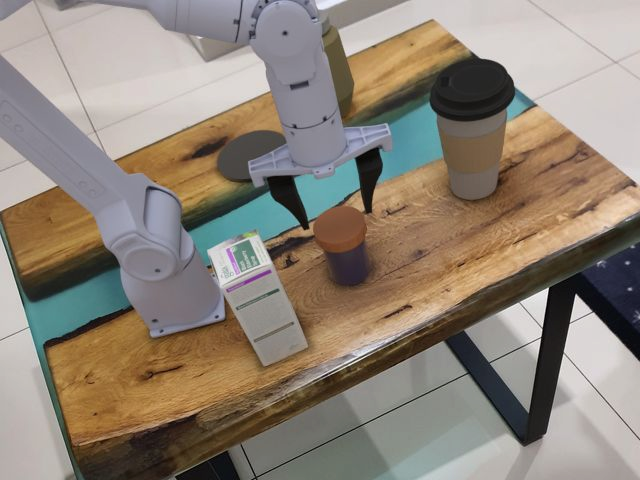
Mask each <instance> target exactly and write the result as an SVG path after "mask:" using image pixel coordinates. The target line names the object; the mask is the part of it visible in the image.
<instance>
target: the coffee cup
mask: <svg viewBox="0 0 640 480" xmlns="http://www.w3.org/2000/svg"><path fill="white" fill-rule="evenodd" d="M515 96H516V86H515V82H514V79H513V77H512V76H511V75H510V73H508V70H507V68H506V67H505V66H504V65H503V64H501V63H500V62H498V61H495V60H493V59H488V58H468V59H464V60H460V61H457V62H454V63H451V64H450V65H448V66H447V67H445V68H444V69H443V70H441V71H440V72H439V74H438V75H437V76H436V79H435V81H434V83H433V84H432V86H431V88H430V92H429V98H428V99H429V101H428V103H429V106H430V108H431V110H432V111H433V112H434V113H435V114H436V126H437V131H438V136H439V141H440V146H441V150H442V151H441V152H442V155H443V156H442V157H443V160H444V163H445V165H446V170H447V174H448V181H449V184H450V189H451V191H452V193H453V195H455V196H456V197H457V198H459V199H461V200H465V201H467V200H469V201H475V200H481V199H485V198H486V197H489V196H490V195H492V194H493V193H494V192H495V190H496V188H497V186H498V180H499V172H500V165H501V159H502V156H503V152H504V143H505V137H506V129H507V121H508V107H509V106H510V105H511V104H512V102H513V101H514V99H515Z"/></svg>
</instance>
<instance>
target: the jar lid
mask: <svg viewBox="0 0 640 480" xmlns="http://www.w3.org/2000/svg"><path fill="white" fill-rule="evenodd" d="M367 231H368V227H367V223H366V219H365V216H364V214H363V212H362V211H361V210H359V209H358V208H356V207H354V206H350V205H337V206H333V207H330V208H328V209H325V211H323V212H321V213H320V214H319V215H318V216H317V217H316V219H315V220H314V222H313V226H312V232H313V236H314V241H315V243H316V244H317V246H318V247H320V249H321V250H322V249H323V250H325V251H328V252H333V253H339V252H340V253H341V252H345V251H349V250H351V249H353V248H355V247H356V246H358V245H359V244H360V243H361V242H362V241H363V240H364V238H366V236H367Z"/></svg>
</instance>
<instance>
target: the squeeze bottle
mask: <svg viewBox="0 0 640 480" xmlns="http://www.w3.org/2000/svg"><path fill="white" fill-rule="evenodd" d="M316 8H317V13H318V18H319V22H321V24H322V40H323V44H324V52H325V53H326V55H327V57H328V61H329V66H330V70H331V75H332V79H333V84H334V88H335V93H336V97H337V102H338V106H339V111H340V115H341V119H342V118H344V117H345V116H347V115H348V113H349V112H351V109H352V104H353V96H354V89H355V80H354V76H353V74H352V70H351V66H350V65H349V61H348V58H347V54H346V51H345V49H344V45H343V42H342V39H341V36H340V32H339V30H338V28H337V27H336V26H334V25H333V24H331V22H330V17H329V14H328V12H327V11H326V10H324V9H319V8H318V6H317V5H316Z"/></svg>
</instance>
